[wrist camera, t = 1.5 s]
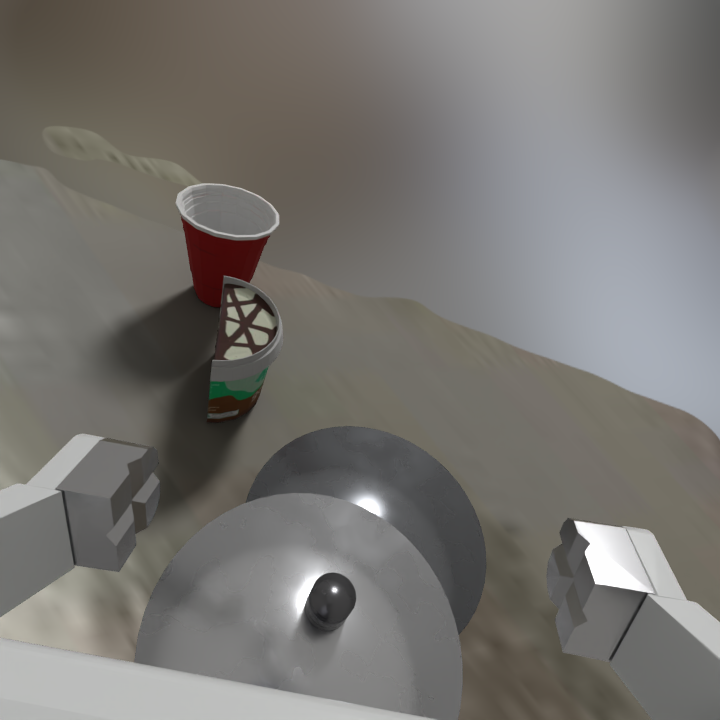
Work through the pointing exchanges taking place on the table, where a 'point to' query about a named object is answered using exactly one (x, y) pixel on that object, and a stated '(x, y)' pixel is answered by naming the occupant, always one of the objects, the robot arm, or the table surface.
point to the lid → (308, 608)
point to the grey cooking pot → (390, 499)
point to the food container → (242, 349)
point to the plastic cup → (223, 235)
